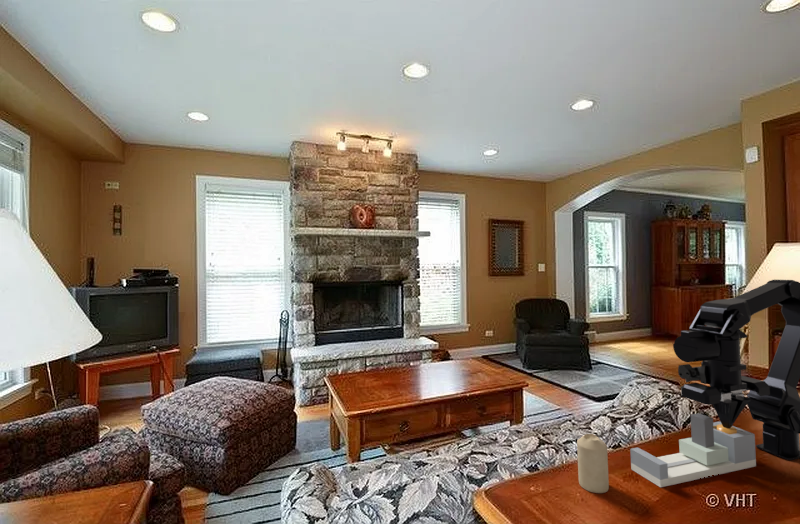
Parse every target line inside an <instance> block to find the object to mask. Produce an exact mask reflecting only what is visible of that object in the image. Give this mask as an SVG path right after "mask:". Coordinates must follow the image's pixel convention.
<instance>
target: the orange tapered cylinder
mask: <svg viewBox="0 0 800 524" xmlns="http://www.w3.org/2000/svg"><path fill="white" fill-rule="evenodd" d="M734 427H735V426H734ZM734 427H731V428H728V429H727V428H725V427H723V425H722V424H719V425H717V430H719V431H722V432H725V433H727V434H736V433H737V429H736V428H734Z"/></svg>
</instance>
